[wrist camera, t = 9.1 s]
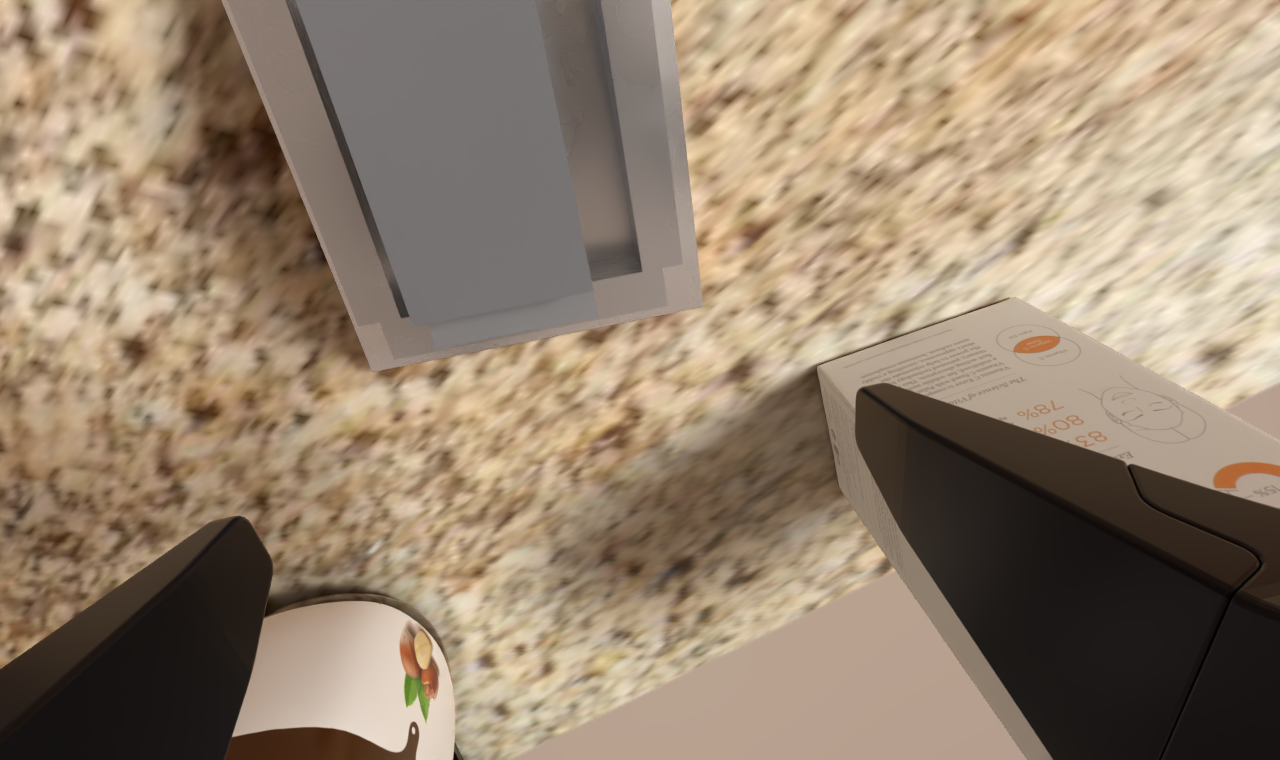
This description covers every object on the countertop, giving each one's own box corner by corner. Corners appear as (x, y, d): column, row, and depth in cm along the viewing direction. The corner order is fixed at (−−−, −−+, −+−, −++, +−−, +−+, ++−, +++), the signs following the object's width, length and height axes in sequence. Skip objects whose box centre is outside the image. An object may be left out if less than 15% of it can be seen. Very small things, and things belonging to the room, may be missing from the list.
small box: (836, 487, 27) (1054, 815, 16) (812, 362, 24) (1061, 658, 13) (1019, 425, 27) (1374, 711, 15) (1019, 291, 24) (1463, 526, 12)
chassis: (697, 298, 22) (716, 328, 20) (377, 361, 21) (358, 399, 19) (637, -248, 15) (655, -298, 13) (163, -178, 15) (95, -217, 12)
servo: (585, 256, 20) (602, 335, 15) (457, 281, 20) (429, 370, 14) (501, -155, 15) (483, -257, 10) (330, -128, 15) (217, -218, 10)
